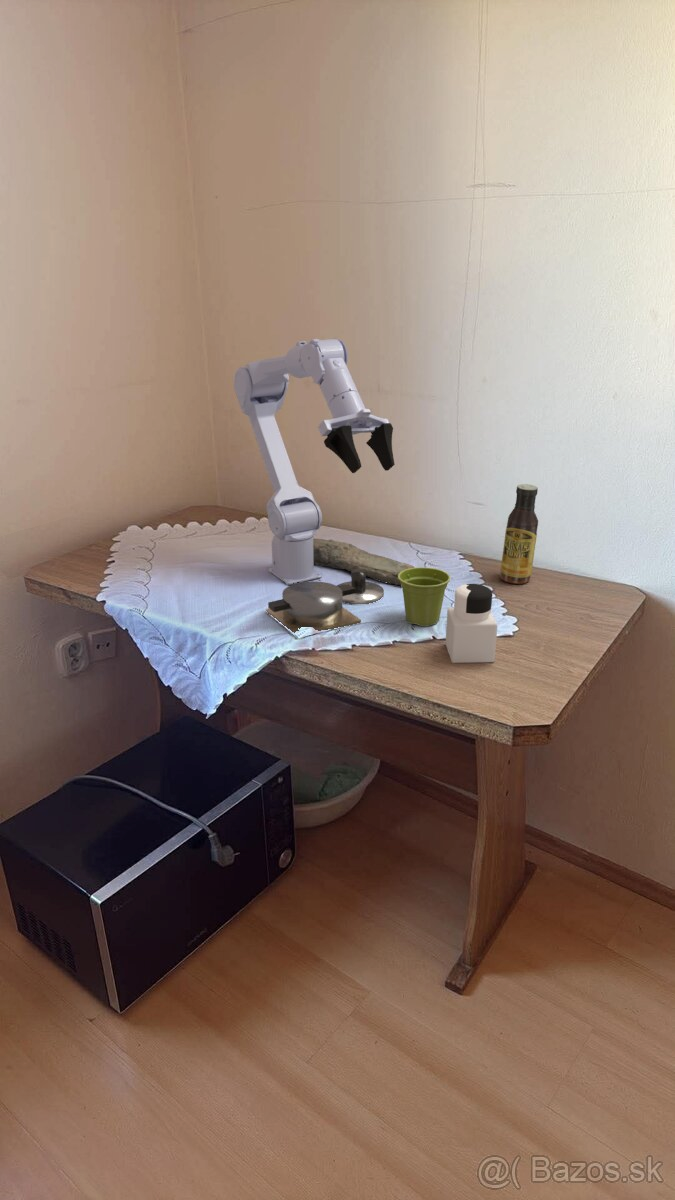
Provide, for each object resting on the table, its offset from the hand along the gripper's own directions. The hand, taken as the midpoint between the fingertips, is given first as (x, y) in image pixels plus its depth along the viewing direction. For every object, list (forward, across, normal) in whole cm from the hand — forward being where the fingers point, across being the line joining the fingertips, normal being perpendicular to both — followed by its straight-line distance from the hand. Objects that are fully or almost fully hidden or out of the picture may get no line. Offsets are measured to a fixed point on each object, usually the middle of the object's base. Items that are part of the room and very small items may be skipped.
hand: (373, 468), depth 135 cm
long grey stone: (+4, +19, +36) cm, 41 cm away
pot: (+16, -4, +26) cm, 31 cm away
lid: (+13, +10, +27) cm, 32 cm away
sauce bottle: (+21, +40, +14) cm, 47 cm away
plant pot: (+24, +11, +15) cm, 30 cm away
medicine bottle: (+34, +8, +4) cm, 35 cm away
